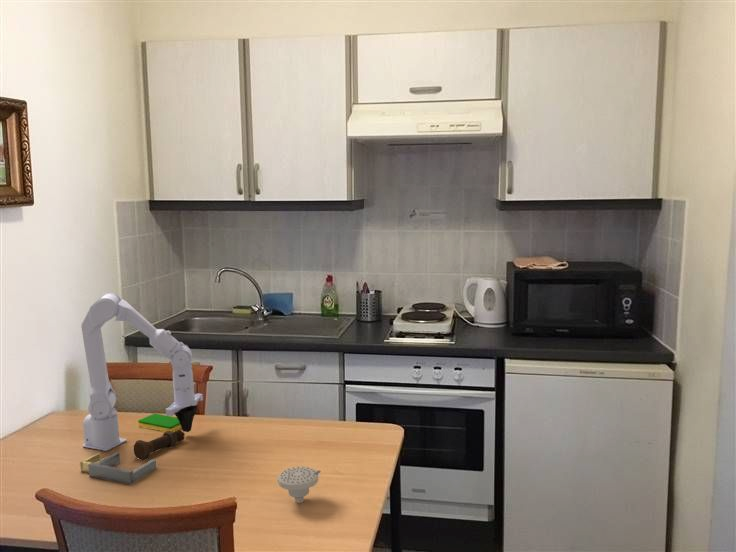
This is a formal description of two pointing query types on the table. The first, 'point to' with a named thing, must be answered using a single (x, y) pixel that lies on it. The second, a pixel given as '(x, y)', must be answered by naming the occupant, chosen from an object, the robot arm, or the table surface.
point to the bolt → (157, 444)
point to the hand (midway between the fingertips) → (186, 430)
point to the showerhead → (298, 481)
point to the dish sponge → (160, 422)
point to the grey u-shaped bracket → (119, 470)
